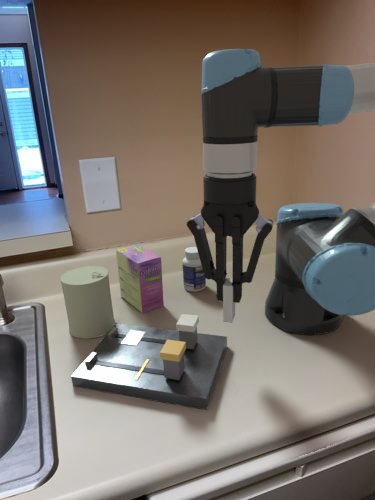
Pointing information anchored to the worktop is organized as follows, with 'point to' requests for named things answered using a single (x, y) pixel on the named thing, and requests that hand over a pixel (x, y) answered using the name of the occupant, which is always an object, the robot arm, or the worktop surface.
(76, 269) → the can
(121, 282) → the box
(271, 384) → the worktop surface
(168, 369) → the fader
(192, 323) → the fader
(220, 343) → the console
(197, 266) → the pill bottle
